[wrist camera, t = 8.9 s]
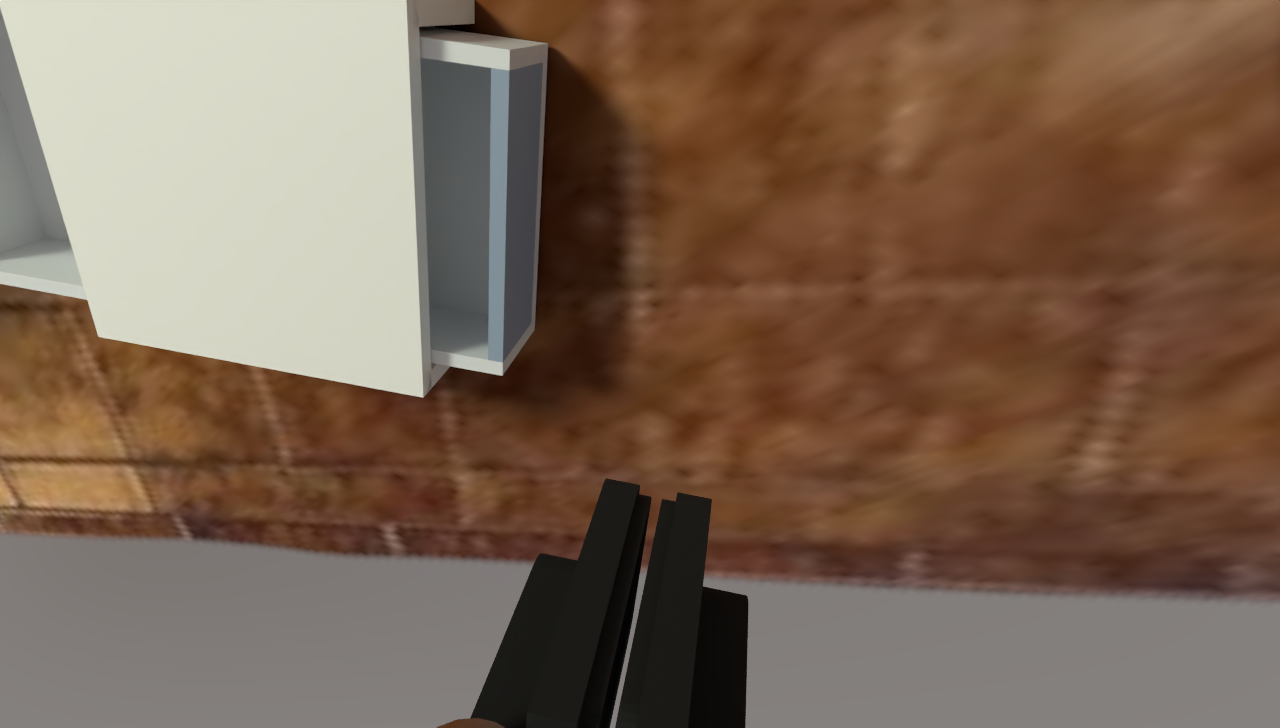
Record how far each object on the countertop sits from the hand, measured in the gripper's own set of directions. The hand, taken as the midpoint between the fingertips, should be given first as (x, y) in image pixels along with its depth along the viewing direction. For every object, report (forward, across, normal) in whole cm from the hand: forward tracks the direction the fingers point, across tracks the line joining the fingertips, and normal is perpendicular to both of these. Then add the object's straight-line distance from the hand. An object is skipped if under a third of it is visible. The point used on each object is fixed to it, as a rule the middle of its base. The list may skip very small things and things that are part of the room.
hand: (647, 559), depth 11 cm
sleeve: (+19, +17, 0) cm, 26 cm away
